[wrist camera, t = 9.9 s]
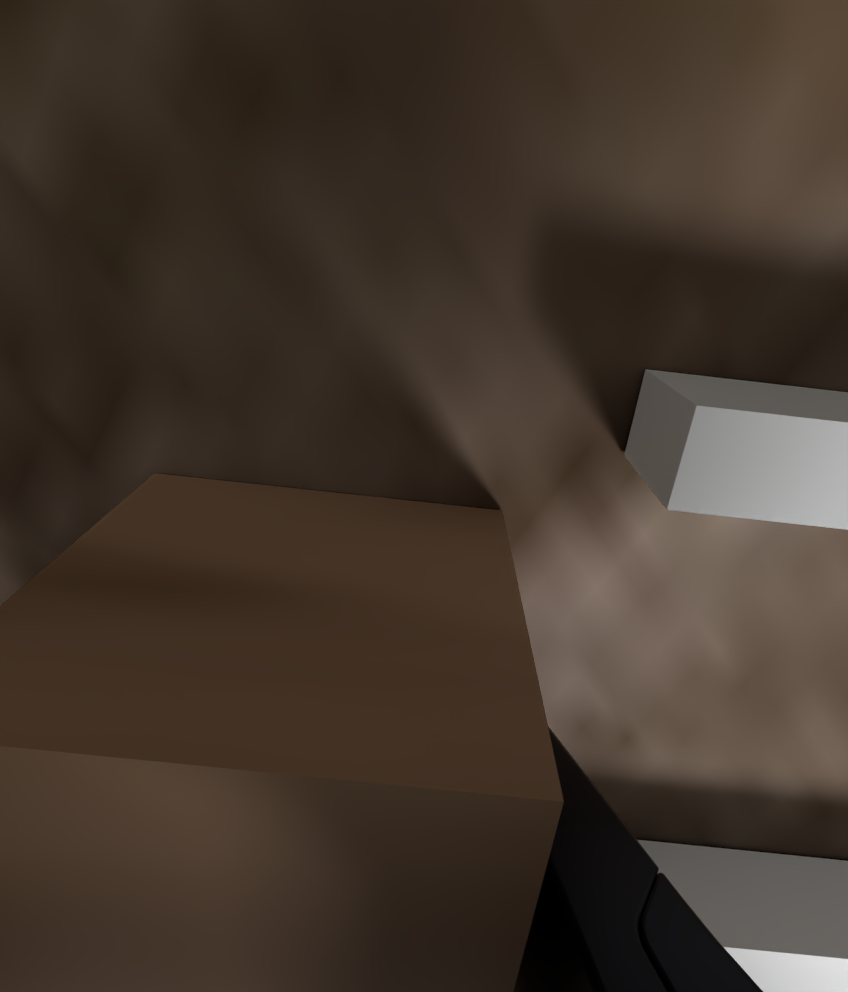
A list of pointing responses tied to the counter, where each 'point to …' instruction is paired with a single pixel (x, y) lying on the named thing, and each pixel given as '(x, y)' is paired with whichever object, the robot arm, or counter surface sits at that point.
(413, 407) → the counter surface
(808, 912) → the channel
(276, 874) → the block
